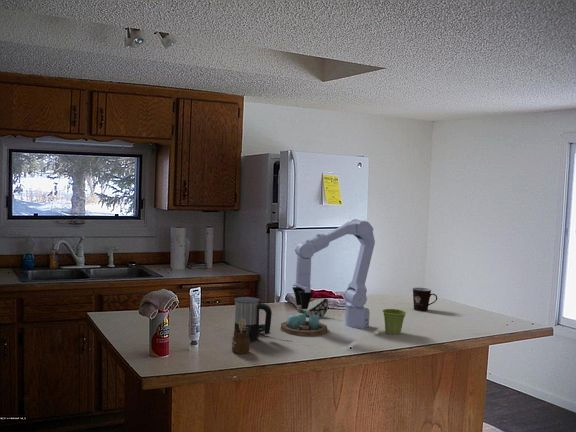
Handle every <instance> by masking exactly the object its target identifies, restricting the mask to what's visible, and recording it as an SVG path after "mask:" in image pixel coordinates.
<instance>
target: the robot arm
mask: <svg viewBox="0 0 576 432" xmlns="http://www.w3.org/2000/svg"><path fill="white" fill-rule="evenodd" d="M347 235H352V236H354V237H355V238H357V240H358V241H359V243H360V247H359V250H358V251H359V252H358V256H357V259H356V263H355V268H354V271H353V276H352V281H351V282H349V284H348V286H347V288H346V289H345V291H344V293H343V297H344V300H345V301H346V302H345V315H344V326H346V327H349V328H356V329H362V330H364V329H366V328H368V327H369V326H370V313H371V312H370V309H369V308H368V307H365V304H366V303H367V300H368V296H367V291H368V290H367V287H366V281H367V278H368V274H369V273H368V272H369V268H370V265H371V261H372V256H373V252H374V247H375V244H376V240H375V236H374V227H373V226H372V224H371V223H370V222H369V221H367V220H360V219H358V218H357V219H351V221H347V222H345V223H344V224H342V225H340V226H339V227H337V228H335V229H333V230H331V232H328V233H326V234H325V233H316V234H315V236H313V237H312V238H310V239H305V242H299V243H298V244H297V245H296V246H295V249H294V252H295V255H296V270H295V271H296V273H295V274H296V275H295V282H294V283H293V284H292V290H293V293H294V297H295V303H296V306H301V307H302V309H308V305H309V302H310V299H312V297H313V295H314V292H313V291H311V277H312V275H311V271H312V257H313V256H314V254H316V253H318V252H320V251H322V250H324V249H326V248H328V246H329V245H330V243H331V242H333V241H335V240H337V239H339V238H342V237H344V236H347Z"/></svg>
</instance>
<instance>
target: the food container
mask: <svg viewBox="0 0 576 432" xmlns="http://www.w3.org/2000/svg"><path fill="white" fill-rule="evenodd" d="M328 308H329V299H328V298H326V297H325V298H311V299H310V302H309V305H308V309H302V307H301V305H298V307H297V308H296V311H297V313H303V314H306V317H307V316H308V317H309V316H310V315H317V316H319V318H323V317H324V316H325V315H326V313H327V312H328V310H329V309H328Z"/></svg>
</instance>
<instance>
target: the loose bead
mask: <svg viewBox="0 0 576 432" xmlns="http://www.w3.org/2000/svg"><path fill="white" fill-rule="evenodd" d="M295 316H298V328H299V325H306V321H307V315H306V314H303V313H299V312H297V313H296V314H295Z"/></svg>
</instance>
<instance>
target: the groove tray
mask: <svg viewBox="0 0 576 432" xmlns="http://www.w3.org/2000/svg"><path fill="white" fill-rule="evenodd" d="M287 323H288V320H287V321H284V322H281V323H280V330H281V331H282V333H286V334H289V335H293V336H294V335H295V336H300V337H301V336H302V337H303V336H304V337H315V336H323V335H325V334H327V333H328V326H327V325H326V324H324V323H322V322H319V329H318V330H310V329H309V320H306V325H299V328H297V330H296V329H291V328H289V327H287Z"/></svg>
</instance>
